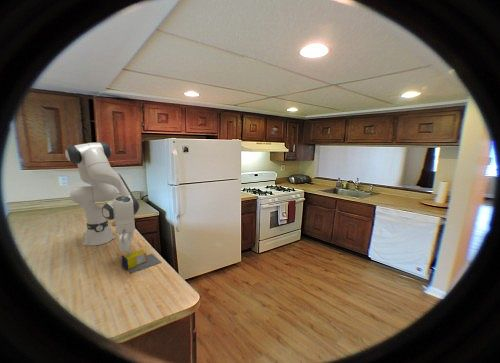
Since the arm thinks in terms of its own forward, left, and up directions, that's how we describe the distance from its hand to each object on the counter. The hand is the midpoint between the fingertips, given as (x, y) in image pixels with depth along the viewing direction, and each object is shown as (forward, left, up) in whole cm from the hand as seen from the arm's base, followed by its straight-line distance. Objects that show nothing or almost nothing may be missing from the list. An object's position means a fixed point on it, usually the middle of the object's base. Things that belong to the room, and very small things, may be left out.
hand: (127, 251), depth 120 cm
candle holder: (-79, +15, -9) cm, 81 cm away
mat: (0, +7, -9) cm, 11 cm away
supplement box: (0, -2, -6) cm, 6 cm away
